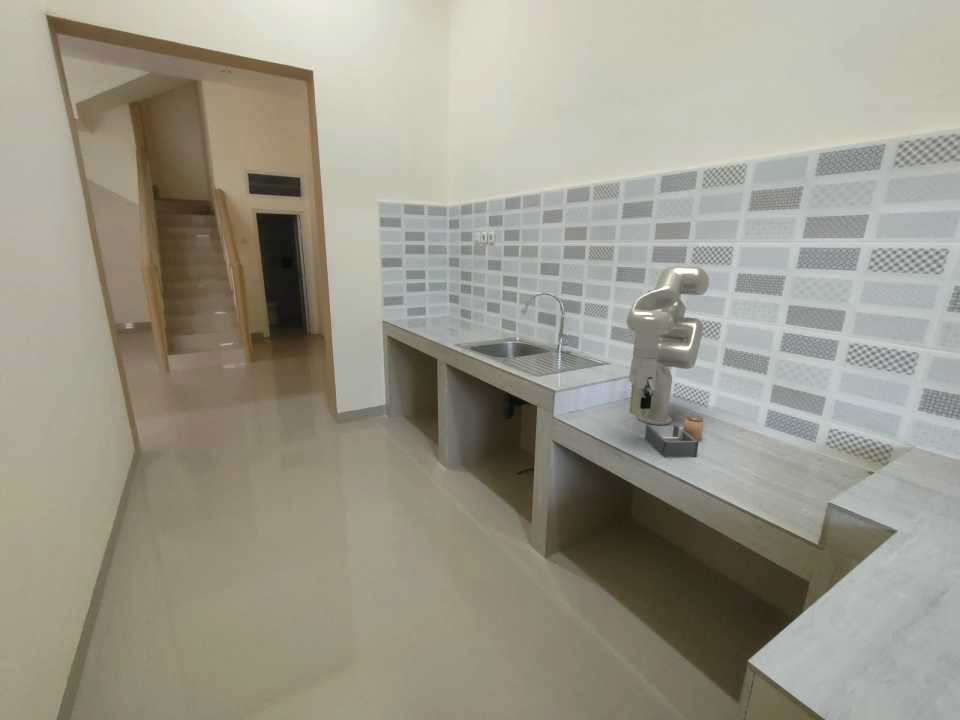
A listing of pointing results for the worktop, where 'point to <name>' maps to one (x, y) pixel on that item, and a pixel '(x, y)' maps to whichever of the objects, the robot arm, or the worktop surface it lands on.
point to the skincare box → (637, 401)
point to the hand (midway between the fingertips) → (640, 403)
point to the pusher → (675, 437)
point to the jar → (694, 426)
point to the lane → (672, 443)
